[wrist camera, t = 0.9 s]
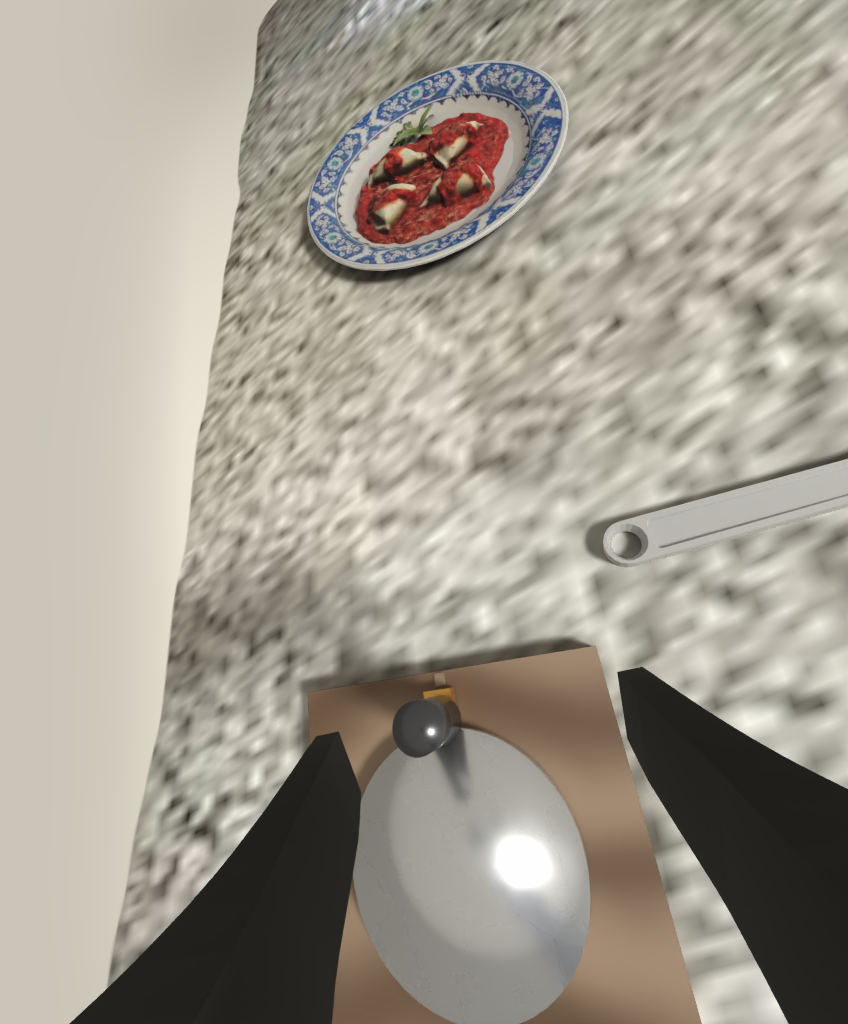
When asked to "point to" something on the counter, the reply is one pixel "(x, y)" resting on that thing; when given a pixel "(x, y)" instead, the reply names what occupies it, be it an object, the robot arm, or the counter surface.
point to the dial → (470, 870)
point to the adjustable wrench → (733, 514)
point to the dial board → (596, 808)
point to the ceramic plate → (437, 165)
